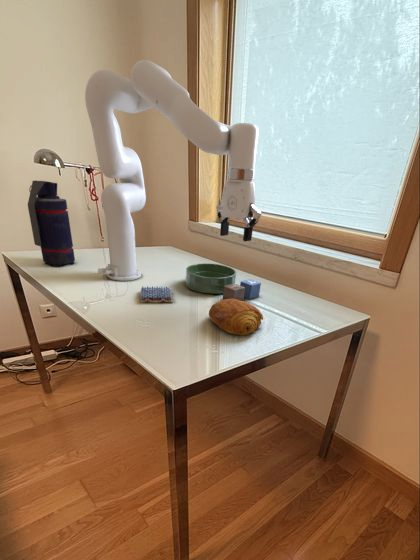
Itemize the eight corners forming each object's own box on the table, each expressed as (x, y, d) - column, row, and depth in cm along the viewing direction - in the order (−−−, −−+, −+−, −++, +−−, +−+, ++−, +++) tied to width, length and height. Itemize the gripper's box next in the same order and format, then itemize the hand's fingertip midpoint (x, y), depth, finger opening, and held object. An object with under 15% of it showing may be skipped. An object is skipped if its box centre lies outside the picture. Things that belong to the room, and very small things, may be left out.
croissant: (223, 346, 83) (227, 321, 79) (201, 315, 94) (203, 291, 89) (270, 337, 89) (276, 313, 84) (244, 309, 100) (248, 286, 95)
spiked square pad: (139, 303, 100) (139, 297, 99) (140, 291, 109) (140, 285, 108) (173, 303, 101) (173, 297, 100) (171, 291, 110) (171, 286, 109)
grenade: (64, 258, 138) (51, 179, 123) (81, 263, 132) (70, 182, 117) (33, 263, 128) (15, 179, 113) (50, 270, 122) (33, 182, 107)
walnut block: (233, 304, 104) (234, 289, 101) (222, 300, 107) (223, 285, 104) (243, 301, 107) (245, 287, 104) (232, 297, 110) (233, 282, 107)
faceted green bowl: (209, 298, 107) (210, 281, 104) (175, 283, 118) (176, 267, 115) (244, 288, 118) (246, 272, 115) (210, 275, 129) (211, 261, 126)
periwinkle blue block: (249, 299, 109) (251, 285, 106) (238, 295, 112) (240, 281, 109) (258, 296, 112) (261, 282, 109) (248, 292, 115) (249, 278, 112)
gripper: (210, 174, 94) (207, 234, 103) (255, 177, 84) (248, 244, 92) (227, 174, 99) (223, 232, 107) (272, 178, 88) (264, 241, 97)
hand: (235, 238), depth 100 cm, fingers open, 9 cm apart
